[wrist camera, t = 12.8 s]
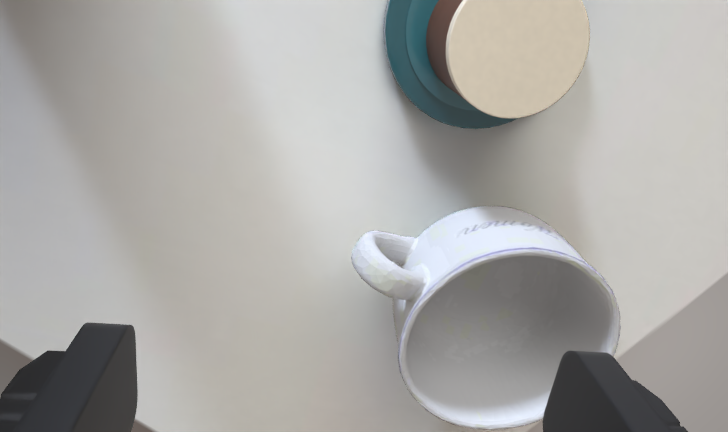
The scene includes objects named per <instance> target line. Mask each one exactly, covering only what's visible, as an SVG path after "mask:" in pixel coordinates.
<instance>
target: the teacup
mask: <svg viewBox="0 0 728 432" xmlns="http://www.w3.org/2000/svg"><path fill="white" fill-rule="evenodd" d="M351 259H352V263H353V266H354V268H355V270H356V271H357V272H358V274H359V275H360V277H361V278H362V279H363V280H364V281H365V282H366V283H367V284H369V285H370V286H371V287H372V288H374V289H375V290H377V291H379V292H380V293H382V294H384V295H386V296H388V297H391V298H393V315H394V323H395V330H396V336H397V341H398V361H399V367H400V373H401V375H402V378H403V381H404V383H405V385H406V387H407V389H408V390H409V392H410V393H411V395H412V396H413V397H414V398H415V399H416V400H417V401H418V402H419V403H420V405H422V406H423V407H424V408H425V409H426V410H427V411H428V412H430V413H431V414H433V415H434V416H436V417H438V418H440V419H442V420H444V421H446V422H449V423H451V424H454V425H458V426H462V427H467V428H472V429H483V430H498V429H509V428H515V427H520V426H524V425H528V424H531V423H534V422H537V421H540V420H542V419H543V416H544V411H545V408H546V405H547V401H548V398H549V395H550V392H551V389H552V386H553V383H554V380H555V377H556V373H557V370H558V367H559V364H560V361H561V358H562V356H563V355H564V354H565V353H566V352H567V351H587V352H605V353H609V354H610V355H612V356H614V354H615V352H616V349H617V345H618V341H619V336H620V328H621V326H620V312H619V307H618V304H617V301H616V298H615V296H614V293H613V291H612V289H611V288H610V287H609V285H608V284H607V282H606V281H605V279H604V278H603V277H602V276H601V275H600V274H599V273H598V272H597V271H596V270H595V269H594V268H593V267H591V266H590V265H589V264H587V263H586V262H585V260H584V259H583V258H582V257H581V256H580V255H579V254H578V253H577V251H576V250H575V249H574V248H573V247H572V246H571V245H570V244H569V243H568V242H567V241H566V240H565V239H564V238H563V237H562V236H561V235H560V234H559V233H558V232H557V231H555V230H554V229H553V228H552V227H551V226H549V225H548V224H547V223H545V222H544V221H542V220H541V219H539V218H537V217H535V216H533V215H531V214H529V213H526V212H523V211H521V210H518V209H513V208H509V207H503V206H479V207H474V208H469V209H464V210H461V211H458V212H455V213H452V214H450V215H448V216H446V217H444V218H442V219H440V220H438V221H437V222H435V223H434V224H432V225H431V226H430V227H428V228H427V229H426V230H425V231H423V232H422V233H421V234H420V235H419V236H418V237H417V238H413V237H402V236H399V235H395V234H391V233H387V232H382V231H369V232H367V233H365V234H364V235H362V236H361V237H360V238H359V240H358V241H357V243H356V245H355V247H354V248H353V251H352V257H351ZM392 261H393V262H396V263H399V264H400V265H399V266H398V265H396V264H394V263H393V262H392Z"/></svg>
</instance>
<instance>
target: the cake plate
mask: <svg viewBox="0 0 728 432" xmlns="http://www.w3.org/2000/svg"><path fill="white" fill-rule="evenodd" d="M438 1H439V0H388V2H387V6H386V11H385V17H384V45H385V51H386V56H387V60H388V63H389V66H390V69H391V71H392V74H393V76H394V78H395V80H396V82H397V83H398V85H399V86H400V88H401V90H402V91H403V92H404V93H405V95H406V96H407V97H408V98H409V100H410V101H411V102H412V103H413V104H414V105H416V106H417V107H418V108H419V109H420V110H421V111H423V112H424V113H426V114H427V115H428V116H430V117H432V118H434V119H436V120H438V121H440V122H442V123H445V124H448V125H451V126H455V127H460V128H470V129H480V128H490V127H495V126H499V125H502V124H505V123H508V122H511V121H513V120H515V119H518V118H511V119H509V118H499V117H495V116H491V115H489V114H486V113H484V112H482V111H480V110H478V109H477V108H475V107H474V106H473V105H471V104H470V103H469V102H467V101H466V100H464V99H463V98H462V97H460V96H459V95H458V94H456V93H455V92H454V91H452V90H451V89H450V88H448V87H447V86H446V85H445V84H444V83H443V82H442V81H441V80H440V79H439V78H438V76H437V75H436V74H435V72H434V70H433V68H432V66H431V64H430V61H429V58H428V54H427V47H426V33H427V27H428V23H429V19H430V16H431V14H432V11H433V9H434V7H435V6H436V4H437V2H438Z"/></svg>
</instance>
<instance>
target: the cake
mask: <svg viewBox="0 0 728 432" xmlns="http://www.w3.org/2000/svg"><path fill="white" fill-rule="evenodd" d="M589 41H590V28H589V21H588V16H587V13H586V9H585V7H584V5H583V2H582V0H439V1H438V2H437V4H436V6H435V7H434V9H433V11H432V14H431V16H430V19H429V23H428V27H427V33H426V47H427V54H428V58H429V61H430V64H431V66H432V68H433V70H434V72H435V74H436V75H437V76H438V78H439V79H440V80H441V81H442V82H443V83H444V84H445V85H446V86H447V87H448V88H450V89H451V90H452V91H454V92H455V93H456V94H458V95H459V96H460V97H462V98H463V99H464V100H466V101H467V102H469V103H470V104H471V105H473V106H474V107H475V108H477V109H478V110H480V111H482V112H484V113H486V114H489V115H491V116H495V117H499V118H509V119H511V118H522V117H527V116H530V115H533V114H536V113H539V112H541V111H543V110H545V109H547V108H548V107H550V106H551V105H553V104H554V103H556V102H557V101H558V100H559V99H561V98H562V97H563V96H564V95H565V94H566V93H567V92H568V90H569V89H570V88H571V87H572V85H573V84H574V83H575V81H576V79H577V78H578V76H579V74H580V72H581V70H582V68H583V66H584V63H585V60H586V58H587V53H588V49H589Z"/></svg>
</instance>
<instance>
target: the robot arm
mask: <svg viewBox="0 0 728 432" xmlns="http://www.w3.org/2000/svg"><path fill="white" fill-rule="evenodd" d="M136 408H137V369H136V342H135V331H134V327H133V326H132V325H121V324H103V323H85V324H84V325H83V326H82V328H81V329H80V330H79V332H78V333H77V335H76V336H75V338H74V339H73V341H72V342H71V344H70V345H69V347H68V348H67V350H66V351H47V352H45V353H44V354H42V355H41V356H39V357H38V358H36V359H35V360H33V361H32V362H30V363H29V364H28V365H26V366H25V367H23V368H22V369H20V370H19V371H18V373H17V374H16V375H15V377H14V378H13V379H12V381H11V382H10V383H9V385H8V386H7V387H6V389H5V390H4V391H3V392H2V394H1V398H0V432H131V430H132V427H133V423H134V419H135V414H136ZM543 432H688V431H687V430H686V429H685V428H684V427H681V426H680V422H679V420H678V419H677V418H676V417H675V416H674V414H673V413H672V412H671V411H670V410H669V409H668V407H667V406H666V405H665V404H664V403H663V401H662V400H661V399H659V398H658V397H657V396H655V395H654V394H653V393H651V392H650V391H649V390H647V389H646V388H645V387H644V386H642V385H641V384H639V383H638V382H637V381H634V380H631V379H630V377H629V376H628V375H627V373H626V372H625V371H624V370H623V368H622V367H621V366H620V365H619V363H618V362H617V361H616V360H615V358H614V357H613V356H612V355H610V354H609V353H605V352H587V351H567V352H566V353H565V354H564V355H563V356H562V358H561V361H560V364H559V367H558V370H557V373H556V377H555V380H554V383H553V386H552V389H551V392H550V395H549V398H548V401H547V405H546V408H545V411H544V416H543Z"/></svg>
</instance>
